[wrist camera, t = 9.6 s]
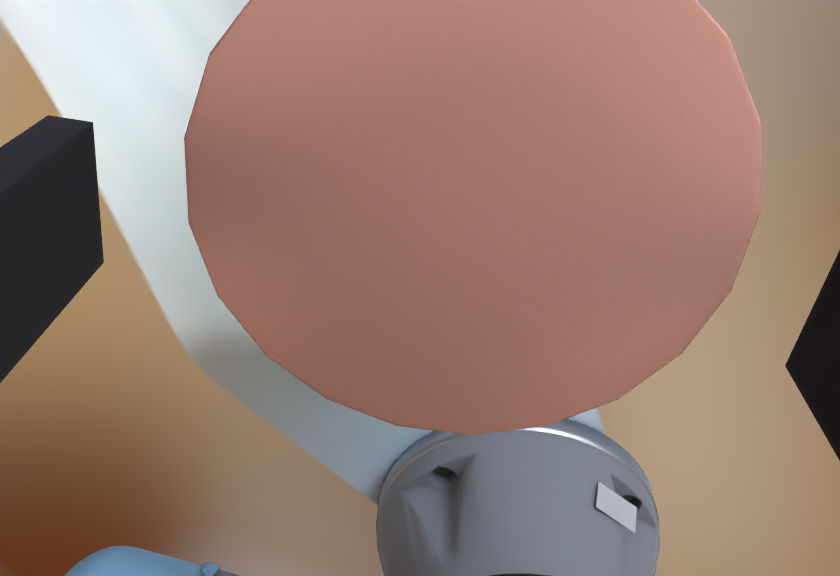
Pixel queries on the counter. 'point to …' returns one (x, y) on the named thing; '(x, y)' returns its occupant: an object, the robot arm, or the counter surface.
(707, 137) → the coffee jar
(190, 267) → the counter surface
